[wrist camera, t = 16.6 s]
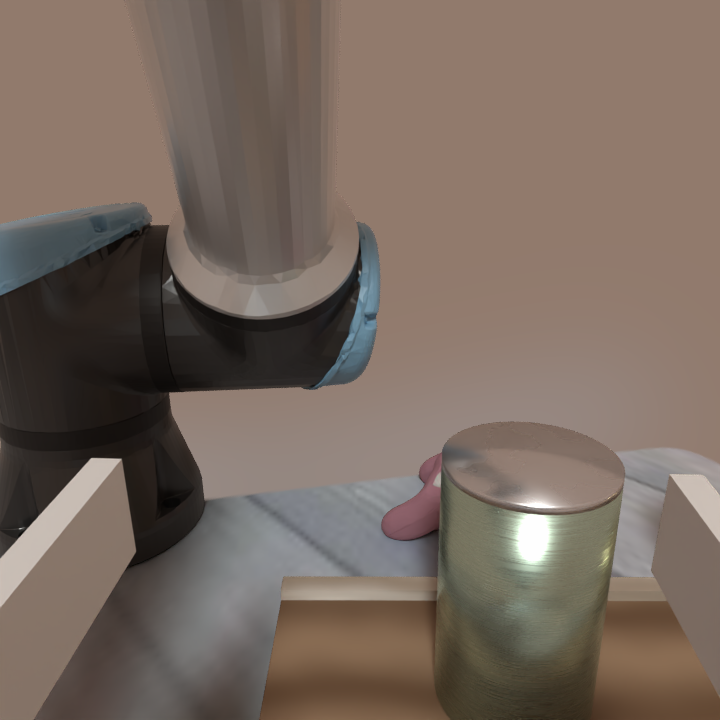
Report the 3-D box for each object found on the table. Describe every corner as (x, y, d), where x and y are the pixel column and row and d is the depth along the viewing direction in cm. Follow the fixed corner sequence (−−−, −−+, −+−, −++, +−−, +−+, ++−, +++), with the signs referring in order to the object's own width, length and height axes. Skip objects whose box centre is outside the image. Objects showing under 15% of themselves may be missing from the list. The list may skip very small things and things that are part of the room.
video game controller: (425, 571, 46) (472, 505, 43) (372, 533, 47) (415, 465, 44) (463, 502, 55) (505, 442, 51) (418, 471, 55) (456, 410, 52)
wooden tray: (286, 616, 40) (283, 573, 38) (811, 618, 39) (824, 574, 38) (238, 900, 25) (232, 844, 24) (1075, 908, 25) (1107, 851, 23)
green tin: (617, 753, 28) (658, 504, 24) (445, 756, 28) (456, 507, 24) (559, 619, 36) (582, 414, 32) (424, 622, 36) (430, 416, 32)
